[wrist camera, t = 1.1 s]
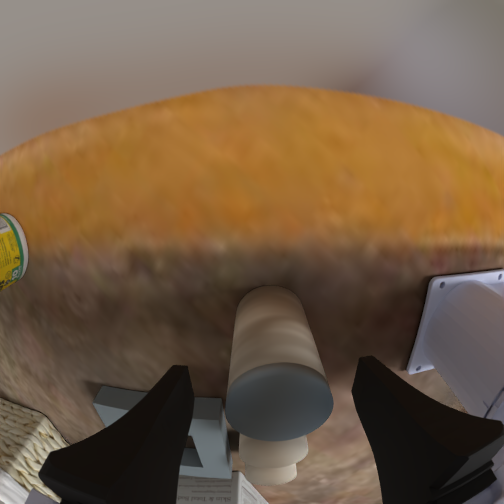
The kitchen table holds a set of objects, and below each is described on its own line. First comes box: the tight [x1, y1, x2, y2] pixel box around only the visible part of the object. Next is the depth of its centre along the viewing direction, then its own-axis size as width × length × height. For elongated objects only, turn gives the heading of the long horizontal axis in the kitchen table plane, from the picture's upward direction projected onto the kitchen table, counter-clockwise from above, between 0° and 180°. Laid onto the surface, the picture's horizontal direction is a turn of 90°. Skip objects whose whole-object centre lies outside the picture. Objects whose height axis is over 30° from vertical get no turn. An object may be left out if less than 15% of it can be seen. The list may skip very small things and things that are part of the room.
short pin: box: [245, 463, 297, 486], centre depth 18 cm, size 4×4×4 cm
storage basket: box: [0, 398, 70, 504], centre depth 17 cm, size 24×16×15 cm
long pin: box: [225, 285, 333, 441], centre depth 12 cm, size 4×4×8 cm
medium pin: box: [239, 433, 308, 468], centre depth 15 cm, size 4×4×6 cm
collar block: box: [92, 386, 232, 479], centre depth 18 cm, size 10×10×2 cm
